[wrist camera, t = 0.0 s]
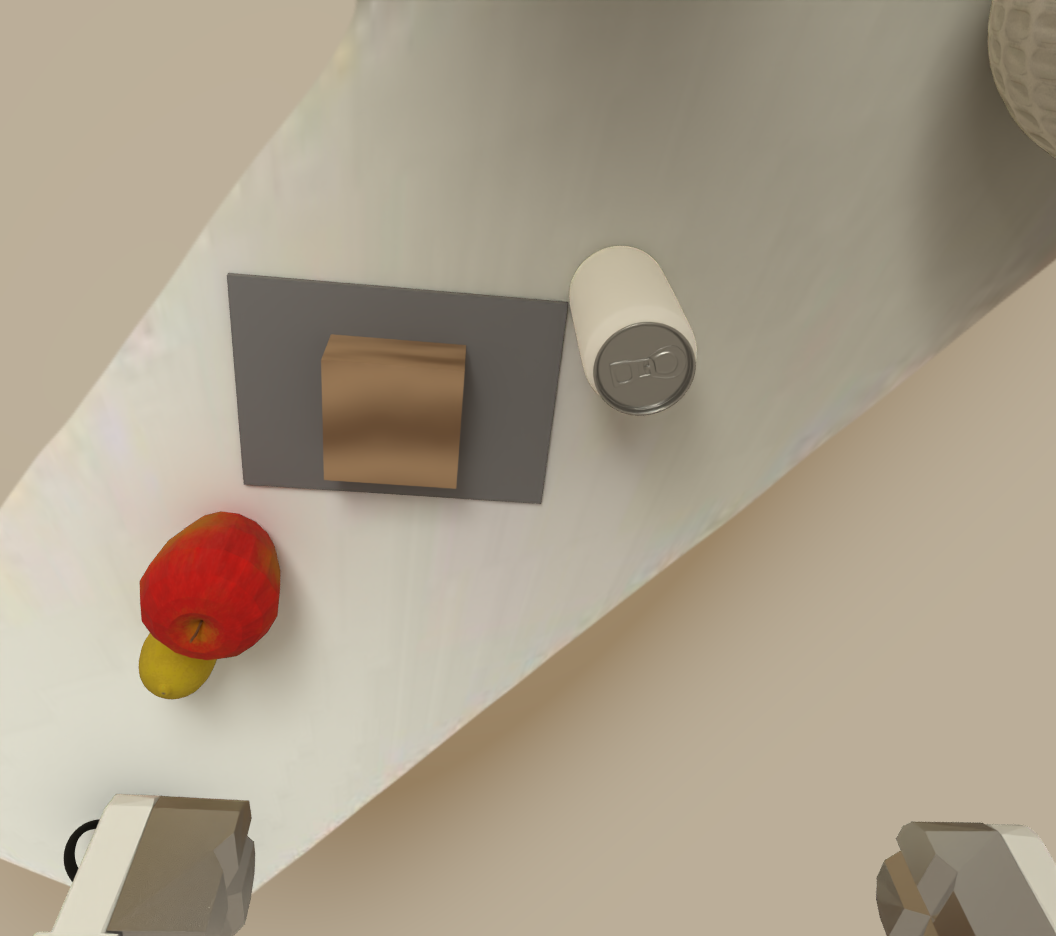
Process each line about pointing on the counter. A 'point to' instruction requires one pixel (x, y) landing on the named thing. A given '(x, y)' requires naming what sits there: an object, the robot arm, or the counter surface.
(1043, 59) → the vase
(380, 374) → the plinth
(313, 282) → the mat
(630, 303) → the can
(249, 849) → the robot arm
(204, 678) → the lemon
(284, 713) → the counter surface
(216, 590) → the apple
